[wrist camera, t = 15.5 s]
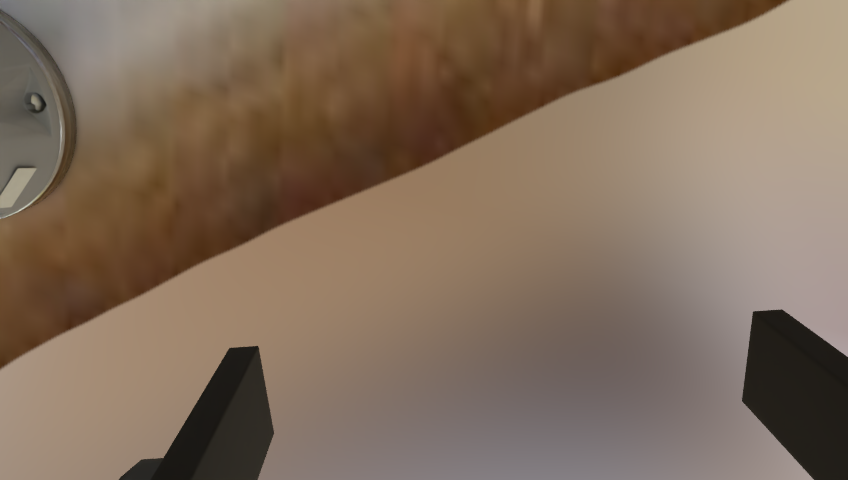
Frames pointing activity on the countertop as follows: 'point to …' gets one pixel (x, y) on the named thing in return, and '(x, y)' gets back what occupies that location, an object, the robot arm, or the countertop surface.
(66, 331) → the countertop surface
